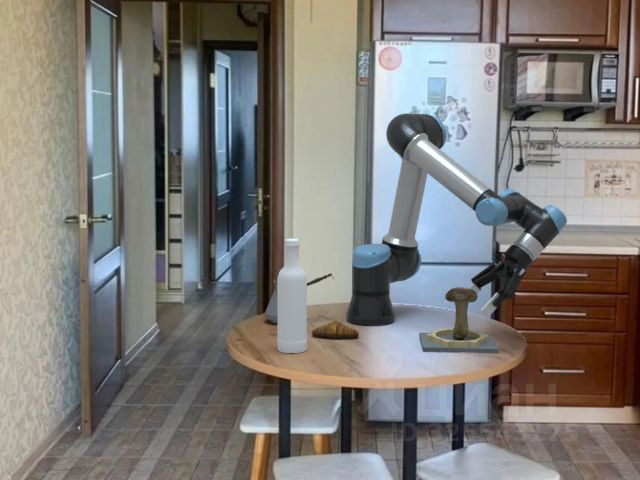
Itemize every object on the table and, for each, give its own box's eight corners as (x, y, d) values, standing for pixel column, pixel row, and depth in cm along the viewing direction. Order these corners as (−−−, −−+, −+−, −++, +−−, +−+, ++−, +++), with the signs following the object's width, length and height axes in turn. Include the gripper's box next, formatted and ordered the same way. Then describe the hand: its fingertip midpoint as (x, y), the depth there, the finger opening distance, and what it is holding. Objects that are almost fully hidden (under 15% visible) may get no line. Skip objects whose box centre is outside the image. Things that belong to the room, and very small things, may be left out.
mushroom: (453, 346, 211) (455, 290, 209) (437, 338, 218) (439, 285, 217) (483, 343, 214) (485, 289, 212) (466, 335, 222) (468, 283, 220)
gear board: (422, 351, 210) (423, 341, 209) (419, 336, 226) (419, 327, 225) (498, 353, 208) (498, 343, 208) (489, 338, 224) (489, 328, 224)
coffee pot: (265, 326, 237) (265, 277, 235) (264, 317, 248) (264, 271, 246) (335, 325, 239) (336, 276, 237) (331, 316, 250) (331, 270, 248)
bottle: (303, 354, 206) (304, 241, 202) (274, 353, 208) (274, 240, 204) (309, 346, 214) (309, 237, 210) (280, 345, 215) (280, 236, 212)
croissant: (359, 335, 227) (359, 318, 226) (358, 341, 220) (358, 324, 220) (313, 334, 229) (313, 317, 228) (310, 339, 222) (310, 322, 221)
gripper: (556, 268, 208) (503, 327, 206) (508, 255, 232) (460, 308, 229) (538, 249, 206) (485, 309, 203) (492, 238, 229) (444, 291, 227)
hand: (472, 308), depth 216 cm, fingers open, 13 cm apart
